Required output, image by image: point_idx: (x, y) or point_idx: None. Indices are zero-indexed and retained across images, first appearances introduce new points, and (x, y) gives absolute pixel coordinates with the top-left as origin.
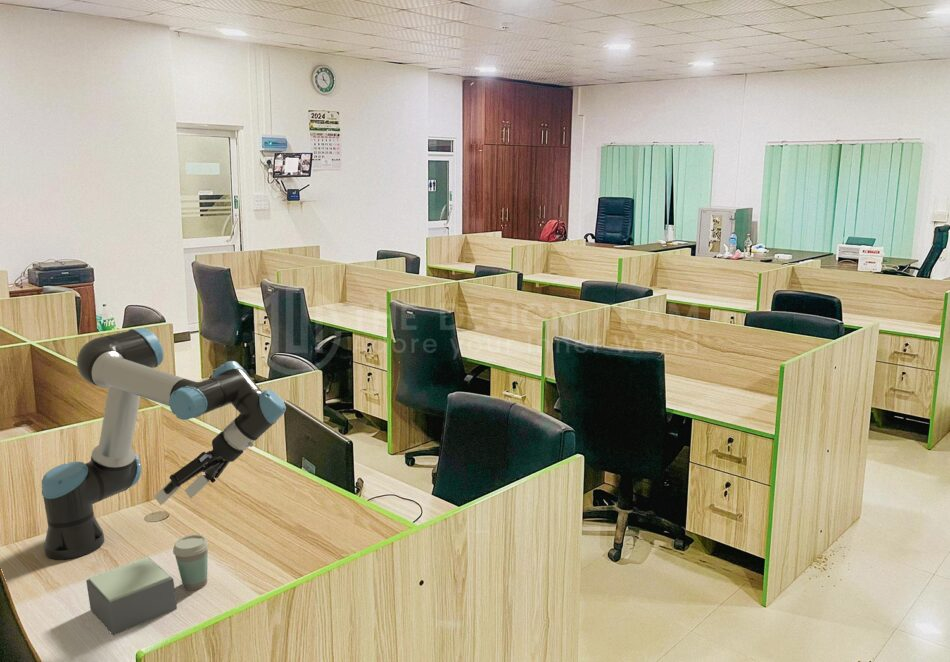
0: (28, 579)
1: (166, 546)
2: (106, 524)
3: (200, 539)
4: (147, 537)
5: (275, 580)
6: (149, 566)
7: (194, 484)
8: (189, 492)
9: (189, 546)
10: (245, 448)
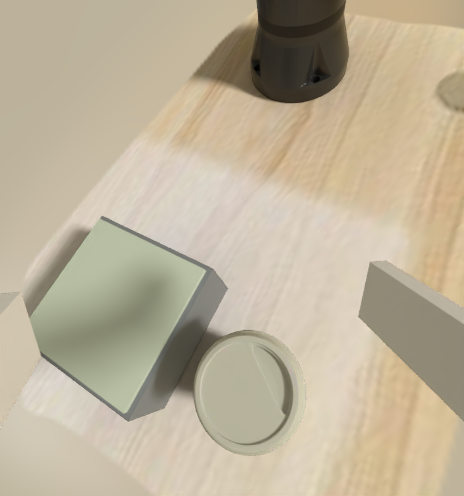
0: (194, 93)
1: (370, 199)
2: (384, 47)
3: (273, 417)
4: (382, 140)
5: None
6: (162, 313)
7: (428, 322)
8: (375, 300)
9: (218, 409)
10: None
